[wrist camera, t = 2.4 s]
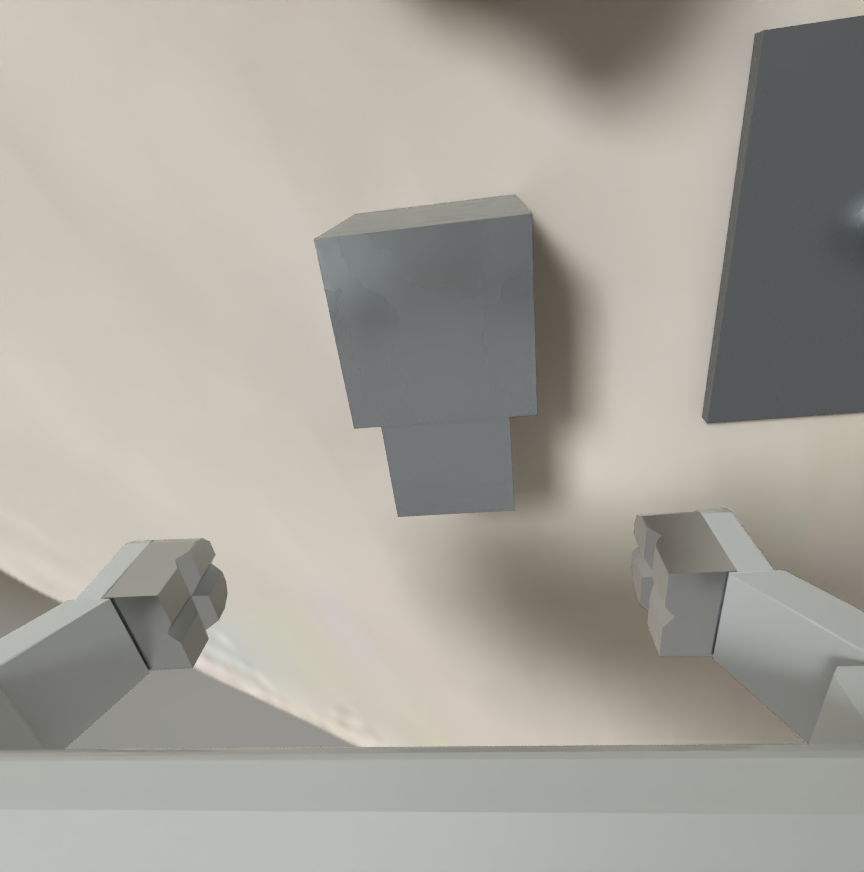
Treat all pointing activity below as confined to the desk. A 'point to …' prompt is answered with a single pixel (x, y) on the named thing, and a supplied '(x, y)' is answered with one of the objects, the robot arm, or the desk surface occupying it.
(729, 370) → the duct plate
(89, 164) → the desk surface
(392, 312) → the stepped gray block
